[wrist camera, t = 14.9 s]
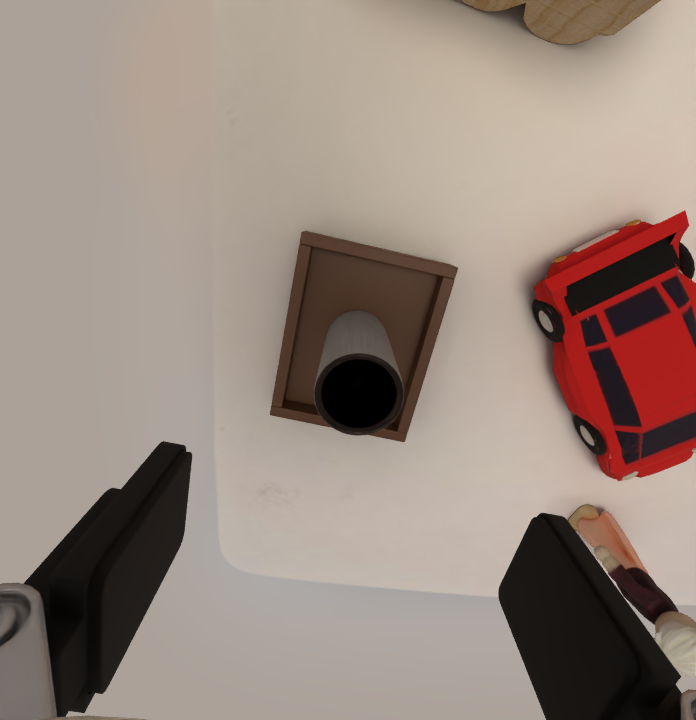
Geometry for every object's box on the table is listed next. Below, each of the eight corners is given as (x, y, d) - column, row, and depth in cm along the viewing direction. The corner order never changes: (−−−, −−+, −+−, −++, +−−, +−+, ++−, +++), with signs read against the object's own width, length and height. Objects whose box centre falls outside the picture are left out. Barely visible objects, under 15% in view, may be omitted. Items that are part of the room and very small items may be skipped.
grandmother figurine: (634, 524, 35) (780, 679, 23) (603, 552, 36) (728, 714, 24) (570, 485, 34) (689, 628, 22) (540, 515, 35) (638, 667, 23)
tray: (305, 230, 27) (301, 231, 25) (450, 264, 28) (458, 267, 26) (274, 403, 32) (269, 415, 30) (401, 429, 32) (404, 442, 30)
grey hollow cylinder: (335, 374, 30) (327, 445, 20) (319, 318, 29) (302, 365, 19) (392, 360, 30) (413, 425, 20) (379, 302, 28) (393, 343, 18)
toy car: (598, 481, 34) (639, 523, 29) (500, 282, 28) (530, 293, 24) (723, 424, 32) (788, 459, 27) (643, 199, 26) (707, 193, 22)
